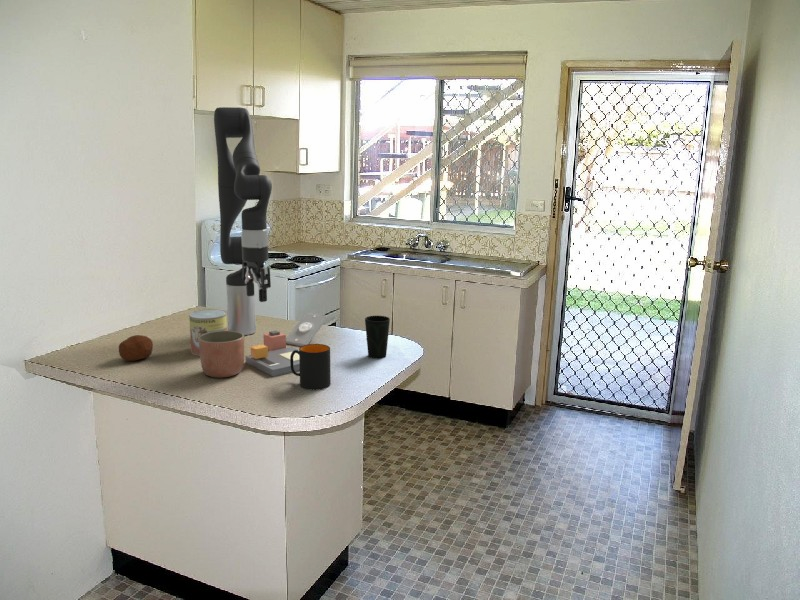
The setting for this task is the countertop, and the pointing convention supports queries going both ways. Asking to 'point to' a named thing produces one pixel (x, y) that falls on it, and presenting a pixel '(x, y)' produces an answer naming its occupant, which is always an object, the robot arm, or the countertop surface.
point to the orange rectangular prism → (259, 351)
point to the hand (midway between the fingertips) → (256, 298)
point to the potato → (135, 348)
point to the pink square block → (274, 340)
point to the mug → (313, 366)
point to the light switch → (305, 329)
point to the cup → (377, 336)
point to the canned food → (205, 325)
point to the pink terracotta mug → (221, 353)
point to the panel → (276, 362)
